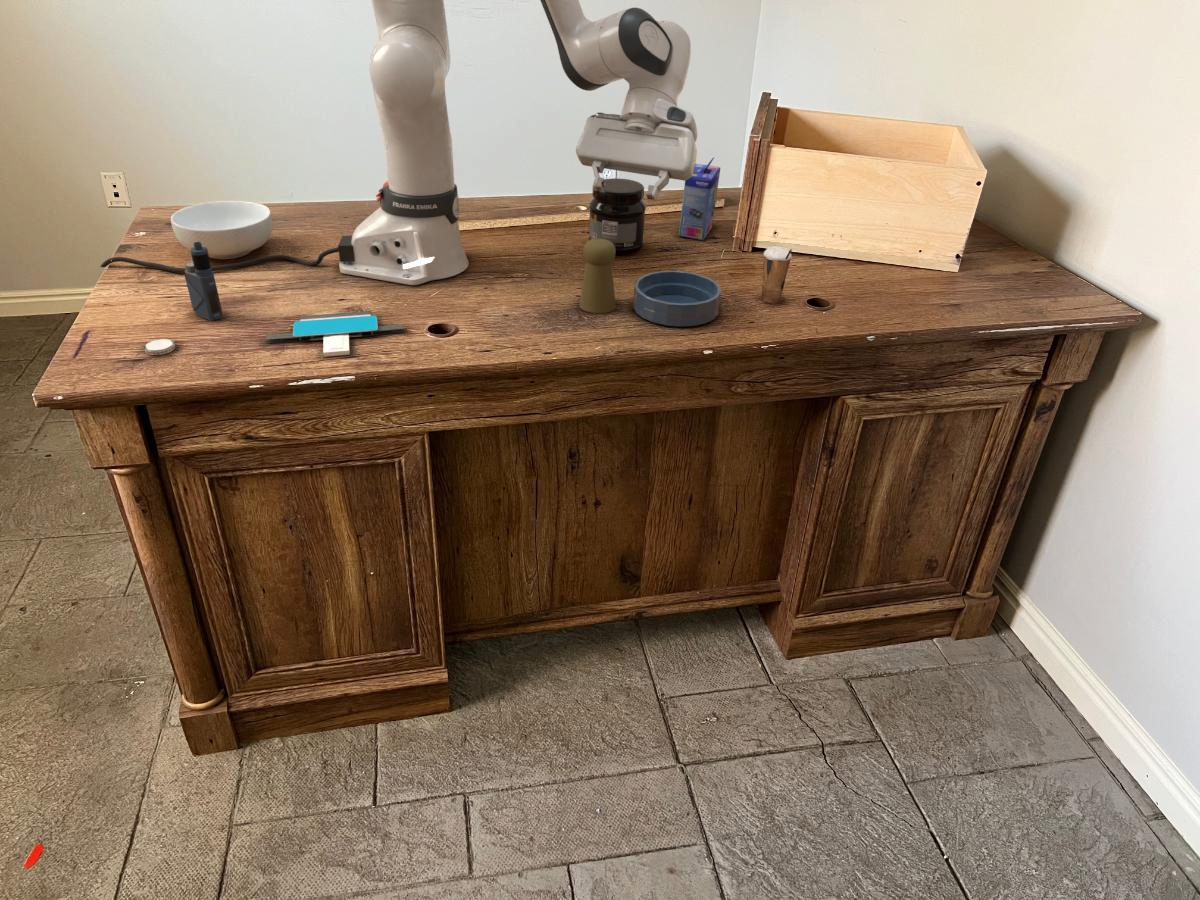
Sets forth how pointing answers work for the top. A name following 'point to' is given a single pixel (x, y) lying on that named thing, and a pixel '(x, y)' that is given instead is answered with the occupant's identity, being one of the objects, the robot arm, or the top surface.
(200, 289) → the vaping device
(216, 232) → the cereal bowl
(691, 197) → the ink cartridge box
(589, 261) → the olive peg figure
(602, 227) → the supplement container
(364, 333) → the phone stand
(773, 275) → the milkshake
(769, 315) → the top surface
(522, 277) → the top surface
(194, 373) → the top surface
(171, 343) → the white bottle cap
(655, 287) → the serving bowl
